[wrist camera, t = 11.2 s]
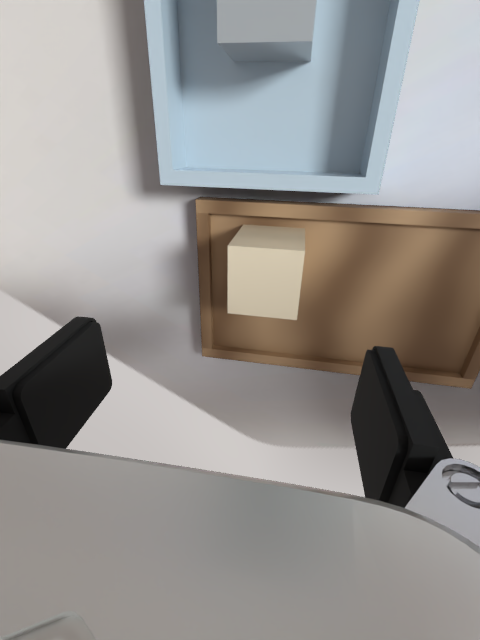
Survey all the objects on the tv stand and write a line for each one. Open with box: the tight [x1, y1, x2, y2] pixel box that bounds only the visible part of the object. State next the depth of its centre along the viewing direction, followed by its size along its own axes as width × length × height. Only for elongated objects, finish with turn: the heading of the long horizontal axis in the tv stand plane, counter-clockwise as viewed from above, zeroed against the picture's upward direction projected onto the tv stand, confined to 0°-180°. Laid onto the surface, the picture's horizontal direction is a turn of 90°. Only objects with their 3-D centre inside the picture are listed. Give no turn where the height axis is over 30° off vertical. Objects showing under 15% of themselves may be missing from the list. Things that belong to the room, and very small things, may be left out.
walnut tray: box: [196, 197, 480, 389], centre depth 23 cm, size 20×12×1 cm, turn 89°
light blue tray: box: [144, 0, 420, 195], centre depth 16 cm, size 12×12×3 cm
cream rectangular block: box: [228, 225, 305, 320], centre depth 20 cm, size 4×4×5 cm
